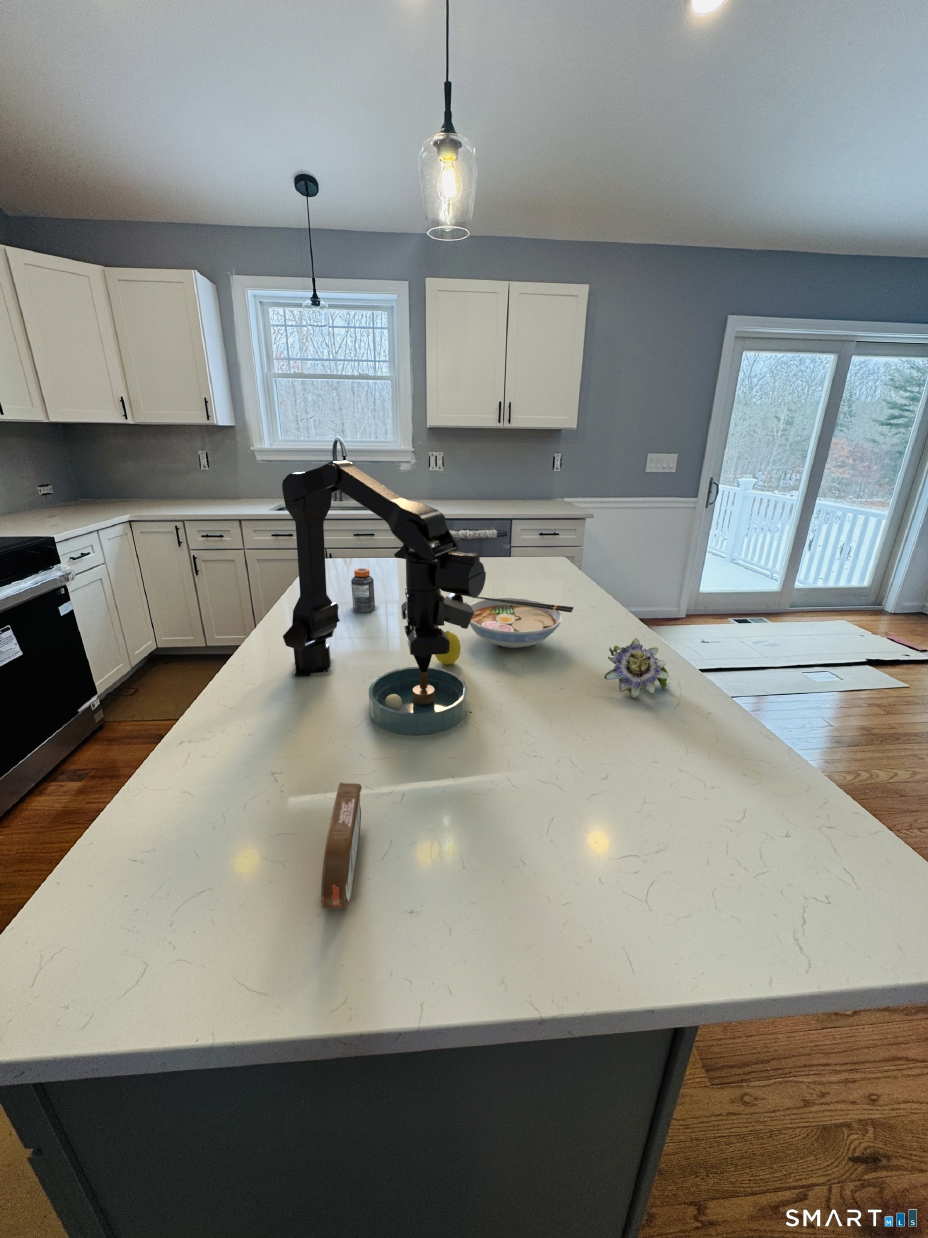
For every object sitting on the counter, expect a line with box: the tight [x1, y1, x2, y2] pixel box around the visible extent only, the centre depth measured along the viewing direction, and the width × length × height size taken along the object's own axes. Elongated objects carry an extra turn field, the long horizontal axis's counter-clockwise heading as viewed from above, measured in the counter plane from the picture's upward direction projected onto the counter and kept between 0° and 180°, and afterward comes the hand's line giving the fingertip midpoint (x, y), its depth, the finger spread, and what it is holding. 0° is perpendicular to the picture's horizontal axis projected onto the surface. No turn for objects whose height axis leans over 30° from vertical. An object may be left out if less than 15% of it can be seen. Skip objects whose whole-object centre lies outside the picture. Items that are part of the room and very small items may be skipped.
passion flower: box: [603, 637, 670, 699], centre depth 100 cm, size 11×11×12 cm
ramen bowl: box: [469, 596, 574, 649], centre depth 119 cm, size 25×23×8 cm
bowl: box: [368, 666, 468, 736], centre depth 90 cm, size 17×17×4 cm
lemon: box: [435, 630, 461, 666], centre depth 107 cm, size 6×6×8 cm
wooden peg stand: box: [413, 671, 435, 705], centre depth 90 cm, size 4×4×11 cm
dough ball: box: [385, 694, 402, 711], centre depth 89 cm, size 3×3×3 cm
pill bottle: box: [350, 567, 376, 613], centre depth 138 cm, size 6×6×11 cm
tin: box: [320, 781, 362, 911], centre depth 57 cm, size 15×3×8 cm, turn 5°
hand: (423, 669), depth 90 cm, fingers closed on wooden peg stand
